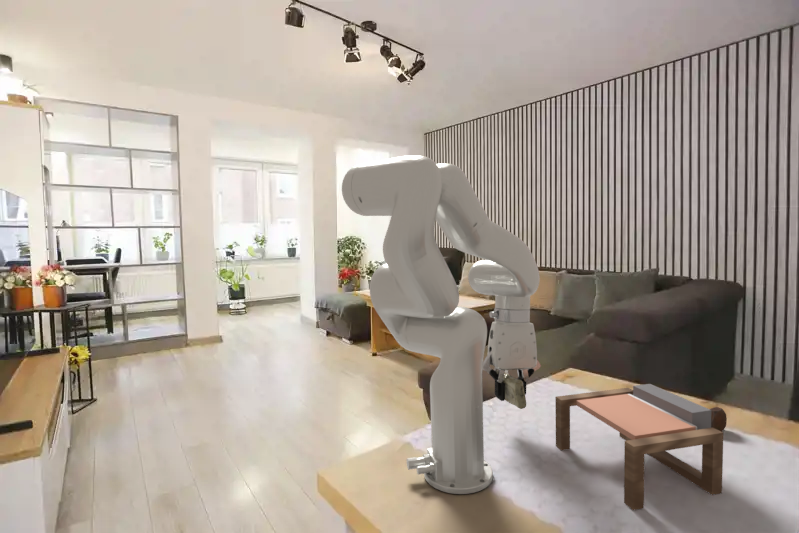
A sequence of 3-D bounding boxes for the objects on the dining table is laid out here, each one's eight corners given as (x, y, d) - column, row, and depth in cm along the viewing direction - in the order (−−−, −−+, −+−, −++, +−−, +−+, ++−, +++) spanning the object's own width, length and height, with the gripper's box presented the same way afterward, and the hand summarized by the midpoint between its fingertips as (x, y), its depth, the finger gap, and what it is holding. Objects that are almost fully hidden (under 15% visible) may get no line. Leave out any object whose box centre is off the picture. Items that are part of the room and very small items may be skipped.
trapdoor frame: (633, 510, 70) (633, 446, 69) (555, 445, 92) (555, 396, 91) (721, 493, 74) (723, 432, 73) (627, 435, 95) (627, 387, 95)
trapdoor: (634, 453, 73) (635, 424, 73) (576, 414, 89) (576, 390, 88) (715, 440, 77) (716, 412, 76) (646, 405, 92) (646, 382, 92)
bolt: (655, 415, 109) (722, 438, 95) (643, 408, 107) (709, 431, 93) (663, 392, 110) (730, 412, 96) (651, 386, 108) (717, 405, 94)
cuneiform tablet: (508, 392, 106) (536, 407, 94) (491, 396, 105) (518, 413, 93) (504, 362, 105) (531, 375, 94) (487, 367, 104) (513, 380, 93)
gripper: (483, 319, 93) (481, 405, 93) (555, 318, 96) (553, 402, 97) (470, 314, 100) (468, 395, 100) (537, 314, 104) (535, 391, 104)
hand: (510, 397), depth 98 cm, fingers closed on cuneiform tablet, 4 cm apart
